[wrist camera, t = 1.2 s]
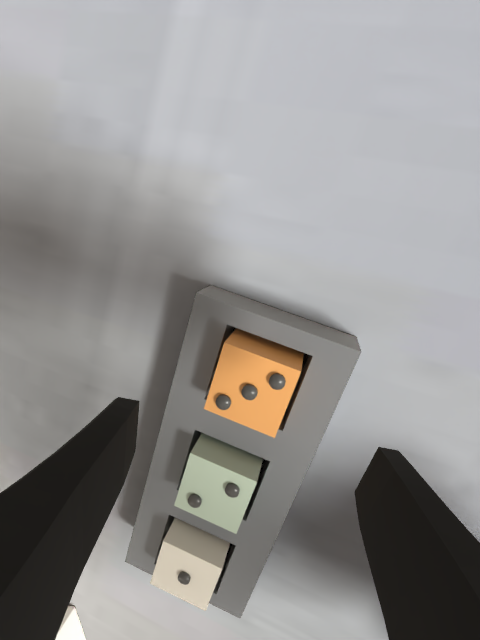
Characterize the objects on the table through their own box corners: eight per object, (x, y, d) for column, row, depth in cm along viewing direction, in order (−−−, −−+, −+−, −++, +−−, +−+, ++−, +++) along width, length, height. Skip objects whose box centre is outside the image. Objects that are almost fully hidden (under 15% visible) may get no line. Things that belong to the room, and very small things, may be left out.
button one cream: (218, 567, 25) (204, 614, 22) (169, 543, 25) (148, 586, 22) (234, 528, 23) (221, 572, 20) (181, 504, 24) (161, 543, 21)
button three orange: (281, 409, 20) (274, 440, 17) (219, 384, 21) (202, 410, 18) (304, 350, 19) (300, 373, 16) (238, 326, 20) (223, 343, 17)
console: (247, 582, 26) (240, 618, 23) (142, 532, 27) (124, 561, 25) (356, 336, 19) (361, 351, 17) (210, 285, 20) (196, 292, 18)
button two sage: (247, 495, 23) (235, 537, 20) (192, 471, 23) (172, 508, 20) (265, 448, 21) (256, 484, 18) (207, 424, 22) (188, 455, 19)
